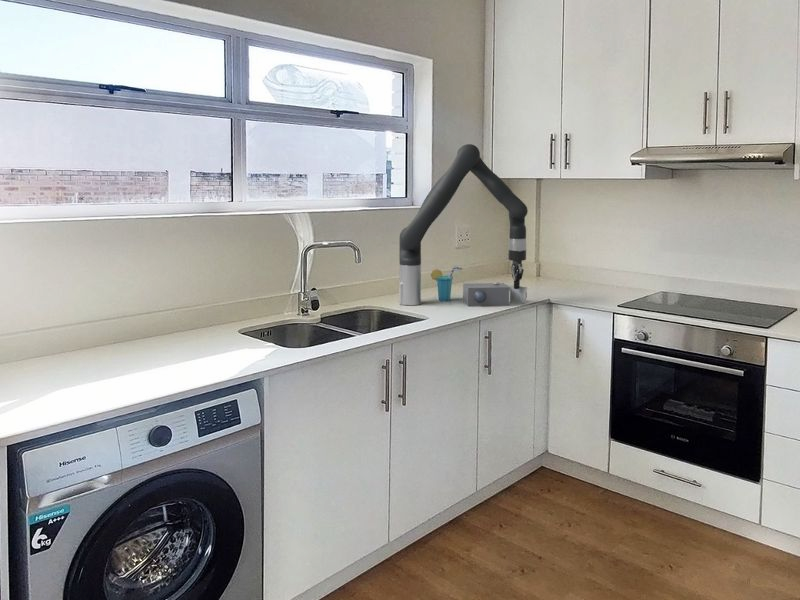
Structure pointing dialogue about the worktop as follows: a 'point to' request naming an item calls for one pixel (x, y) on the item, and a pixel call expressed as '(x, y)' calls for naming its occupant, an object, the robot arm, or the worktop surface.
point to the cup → (443, 284)
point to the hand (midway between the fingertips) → (516, 288)
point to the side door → (518, 294)
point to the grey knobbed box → (486, 294)
